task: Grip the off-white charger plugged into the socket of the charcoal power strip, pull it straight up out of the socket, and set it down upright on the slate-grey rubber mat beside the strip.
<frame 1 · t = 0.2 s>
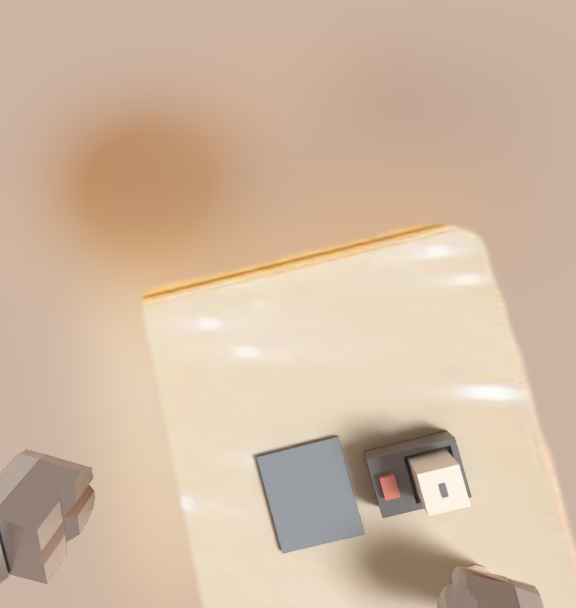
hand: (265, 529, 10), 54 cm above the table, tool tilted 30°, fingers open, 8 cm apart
charger: (429, 469, 61), point 1 cm above the table, touching power strip
rubber mat: (310, 493, 63), on the table
power strip: (413, 468, 62), on the table
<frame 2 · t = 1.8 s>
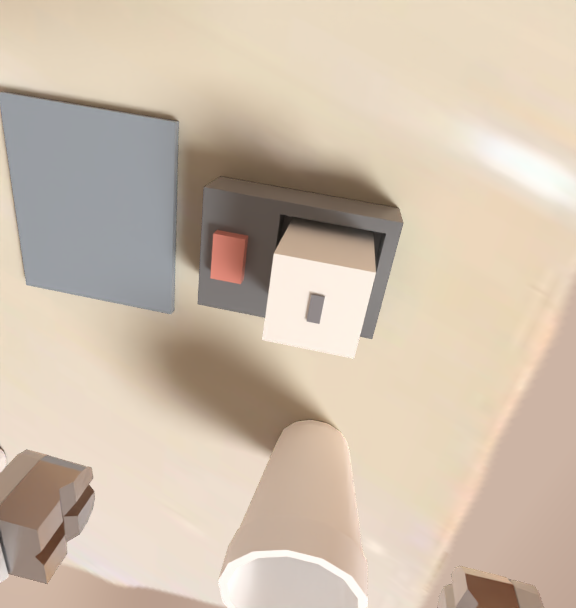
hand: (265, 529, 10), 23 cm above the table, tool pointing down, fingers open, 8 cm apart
charger: (325, 261, 30), point 1 cm above the table, touching power strip
rubber mat: (96, 210, 32), on the table
power strip: (299, 248, 31), on the table
foam cup: (313, 446, 39), on the table
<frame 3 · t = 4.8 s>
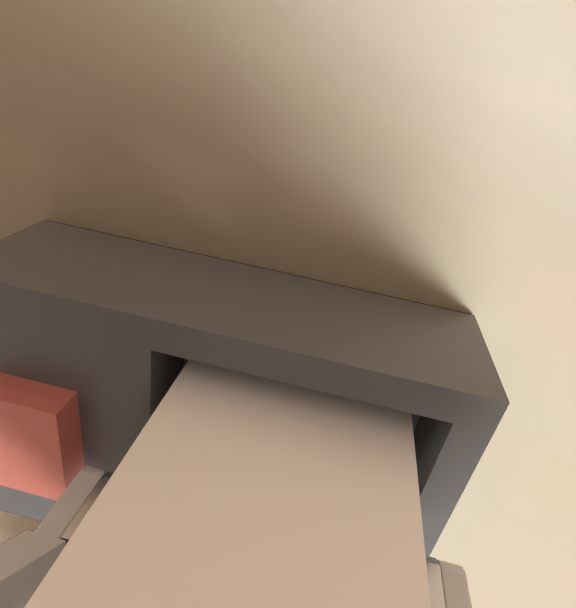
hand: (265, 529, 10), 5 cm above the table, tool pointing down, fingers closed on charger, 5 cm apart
charger: (289, 430, 12), point 2 cm above the table, touching gripper, power strip
power strip: (236, 381, 14), on the table
when the fingers open (6 cm above the table, at t = 12.1 s): charger drops 2 cm, resting on rubber mat.
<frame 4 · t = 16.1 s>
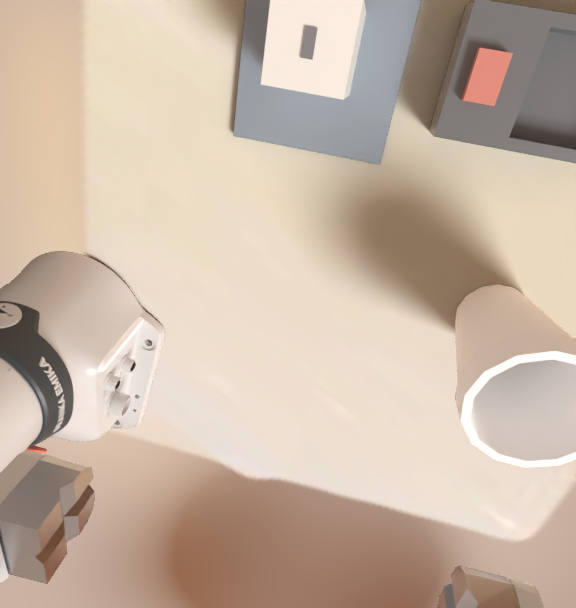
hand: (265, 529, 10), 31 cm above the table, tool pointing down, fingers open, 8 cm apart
charger: (322, 49, 32), point 1 cm above the table, touching rubber mat
rubber mat: (323, 50, 32), on the table
power strip: (531, 87, 31), on the table
foam cup: (491, 315, 40), on the table
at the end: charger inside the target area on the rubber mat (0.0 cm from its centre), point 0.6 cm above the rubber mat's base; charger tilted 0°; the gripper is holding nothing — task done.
